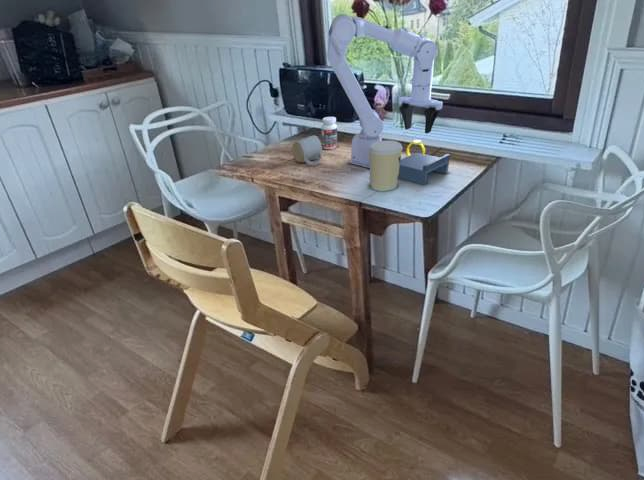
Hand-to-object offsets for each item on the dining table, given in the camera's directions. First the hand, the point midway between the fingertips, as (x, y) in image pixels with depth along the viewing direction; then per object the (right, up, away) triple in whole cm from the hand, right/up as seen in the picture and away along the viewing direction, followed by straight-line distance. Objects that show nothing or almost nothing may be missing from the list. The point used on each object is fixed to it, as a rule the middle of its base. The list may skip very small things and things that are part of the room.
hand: (417, 130), depth 165 cm
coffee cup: (-13, -21, -9) cm, 26 cm away
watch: (+1, -7, +6) cm, 9 cm away
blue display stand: (-1, -16, -5) cm, 16 cm away
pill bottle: (-25, +4, +24) cm, 35 cm away
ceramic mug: (-33, -5, +14) cm, 36 cm away
